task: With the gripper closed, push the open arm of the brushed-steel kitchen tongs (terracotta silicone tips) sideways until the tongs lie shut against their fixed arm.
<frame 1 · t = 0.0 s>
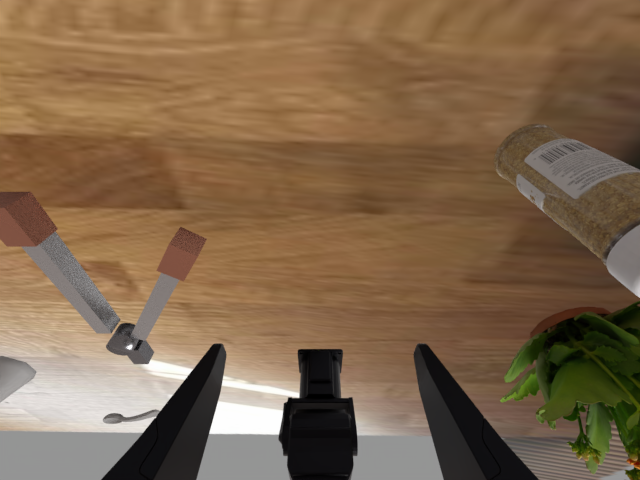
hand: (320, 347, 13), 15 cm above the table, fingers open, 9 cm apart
tongs fixed: (131, 328, 37), on the table
sprinkles bottle: (521, 150, 22), on the table
tong arm: (149, 301, 31), point 2 cm above the table, hinge at 35.0°
spoon: (134, 410, 56), on the table
potted flower: (560, 326, 37), on the table
flask: (12, 364, 44), on the table
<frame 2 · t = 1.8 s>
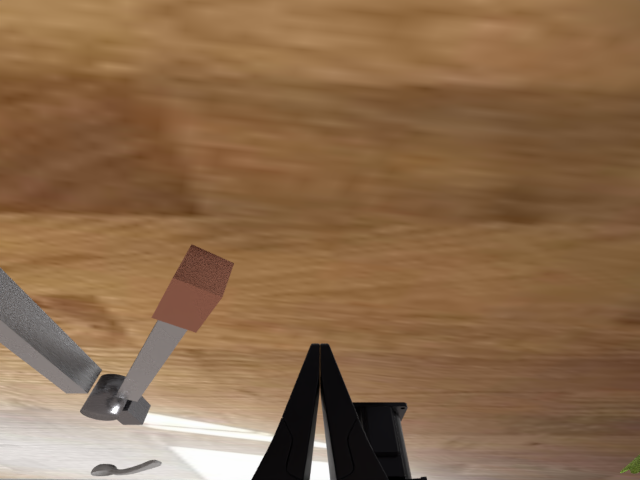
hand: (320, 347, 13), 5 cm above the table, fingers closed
tongs fixed: (119, 379, 27), on the table
tong arm: (141, 353, 21), point 2 cm above the table, hinge at 35.0°
spoon: (129, 459, 45), on the table
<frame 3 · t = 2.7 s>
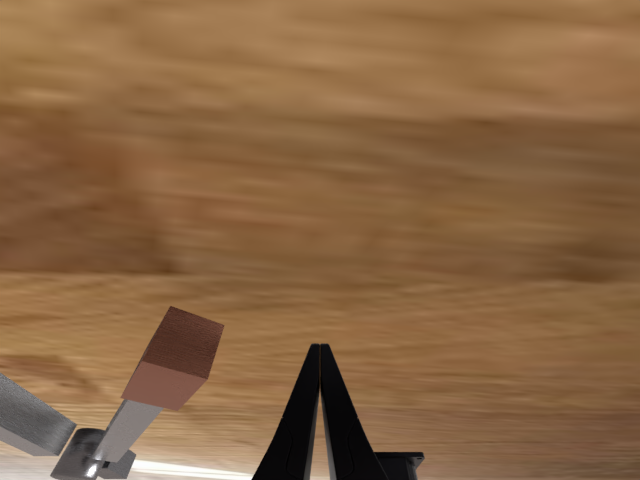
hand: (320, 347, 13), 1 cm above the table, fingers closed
tongs fixed: (98, 431, 23), on the table
tong arm: (117, 419, 17), point 2 cm above the table, hinge at 35.0°
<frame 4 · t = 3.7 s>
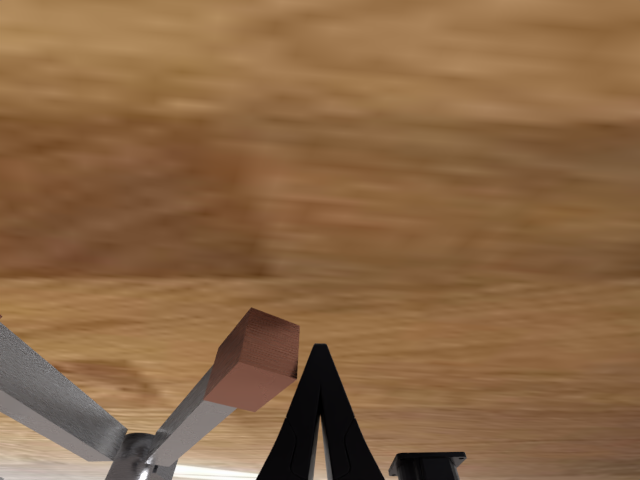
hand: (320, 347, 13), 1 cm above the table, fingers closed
tongs fixed: (145, 436, 23), on the table
tong arm: (179, 422, 17), point 2 cm above the table, hinge at 34.5°, touching gripper
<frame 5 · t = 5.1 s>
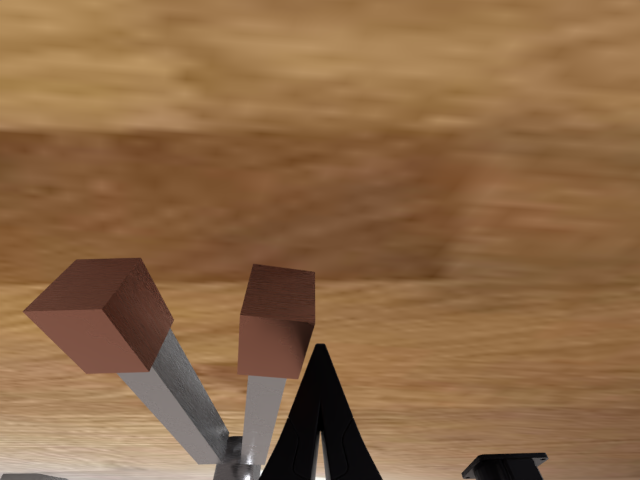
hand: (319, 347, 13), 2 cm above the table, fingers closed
tongs fixed: (240, 439, 24), on the table
tong arm: (248, 413, 17), point 2 cm above the table, hinge at 12.5°, touching gripper
flask: (43, 477, 30), on the table
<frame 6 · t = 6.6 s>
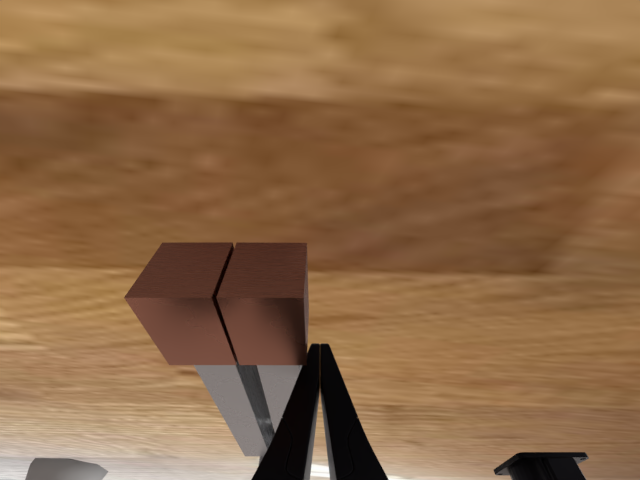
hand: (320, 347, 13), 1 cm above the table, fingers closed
tongs fixed: (281, 431, 23), on the table
tong arm: (274, 405, 16), point 2 cm above the table, hinge at 0.4°
flask: (73, 462, 30), on the table
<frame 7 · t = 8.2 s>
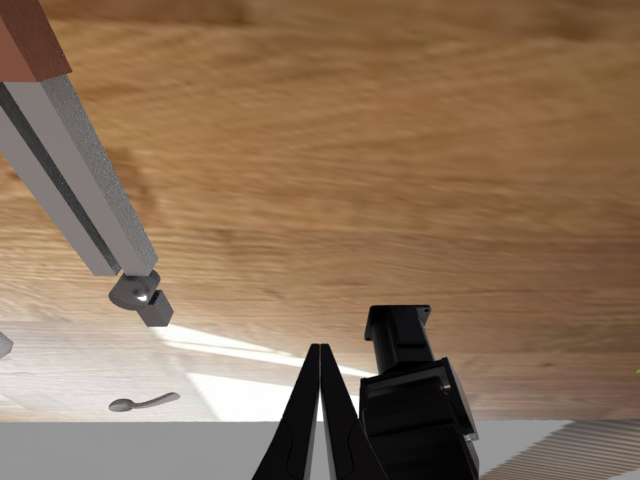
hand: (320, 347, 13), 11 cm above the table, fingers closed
tongs fixed: (144, 274, 26), on the table
tong arm: (86, 195, 19), point 2 cm above the table, hinge at 0.4°
spoon: (147, 394, 45), on the table
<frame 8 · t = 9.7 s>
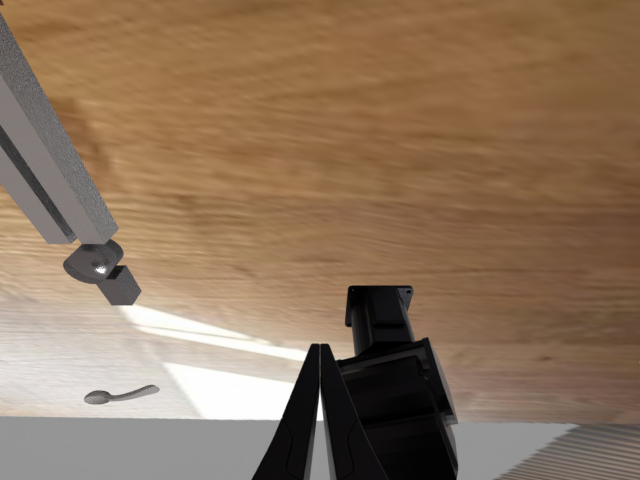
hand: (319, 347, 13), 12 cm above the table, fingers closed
tongs fixed: (106, 247, 25), on the table
tong arm: (29, 148, 18), point 2 cm above the table, hinge at 0.4°
spoon: (125, 387, 43), on the table
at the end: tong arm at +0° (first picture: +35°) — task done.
